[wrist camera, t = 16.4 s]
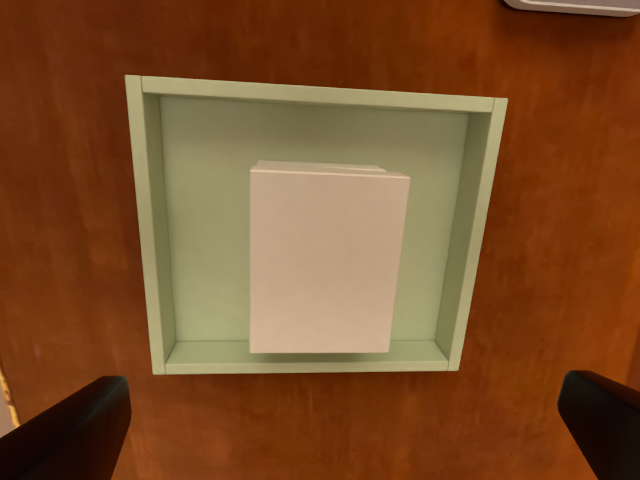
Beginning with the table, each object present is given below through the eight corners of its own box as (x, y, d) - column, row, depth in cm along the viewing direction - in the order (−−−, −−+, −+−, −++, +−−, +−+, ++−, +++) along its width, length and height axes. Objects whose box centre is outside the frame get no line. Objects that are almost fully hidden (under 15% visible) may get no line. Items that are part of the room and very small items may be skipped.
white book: (251, 337, 15) (248, 354, 14) (251, 165, 13) (248, 169, 12) (381, 337, 16) (389, 354, 15) (401, 172, 14) (411, 176, 13)
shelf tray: (168, 345, 20) (152, 375, 18) (147, 81, 16) (124, 74, 14) (439, 344, 22) (458, 371, 19) (478, 101, 18) (508, 98, 15)
